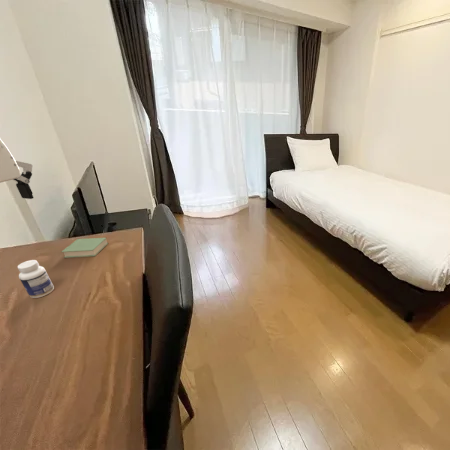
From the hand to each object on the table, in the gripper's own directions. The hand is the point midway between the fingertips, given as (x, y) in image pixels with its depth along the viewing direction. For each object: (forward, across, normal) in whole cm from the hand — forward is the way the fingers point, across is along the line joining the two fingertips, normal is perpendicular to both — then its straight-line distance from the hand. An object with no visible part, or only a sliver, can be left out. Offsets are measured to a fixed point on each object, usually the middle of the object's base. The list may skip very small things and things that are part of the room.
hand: (6, 204), depth 68 cm
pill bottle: (+26, +2, +1) cm, 26 cm away
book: (+26, -19, -8) cm, 33 cm away
